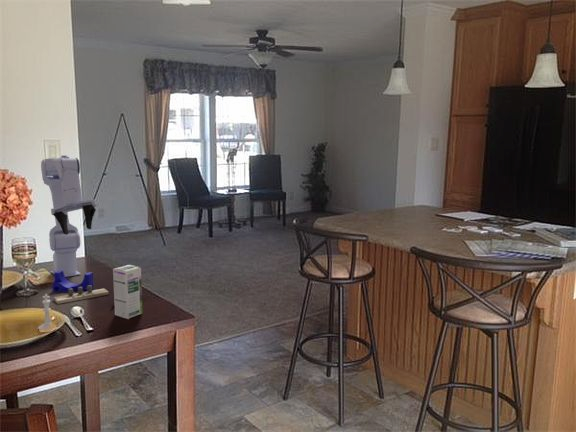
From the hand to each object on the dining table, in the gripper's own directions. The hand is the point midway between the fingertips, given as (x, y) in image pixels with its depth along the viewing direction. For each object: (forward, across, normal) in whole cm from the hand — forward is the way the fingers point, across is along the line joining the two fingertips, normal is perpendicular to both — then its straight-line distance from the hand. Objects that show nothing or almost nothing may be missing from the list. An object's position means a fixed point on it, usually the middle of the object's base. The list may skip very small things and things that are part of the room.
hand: (77, 231), depth 168 cm
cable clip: (+17, -8, +11) cm, 22 cm away
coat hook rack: (+21, -3, +4) cm, 21 cm away
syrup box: (+31, +14, -8) cm, 35 cm away
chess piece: (+32, -4, -20) cm, 38 cm away
